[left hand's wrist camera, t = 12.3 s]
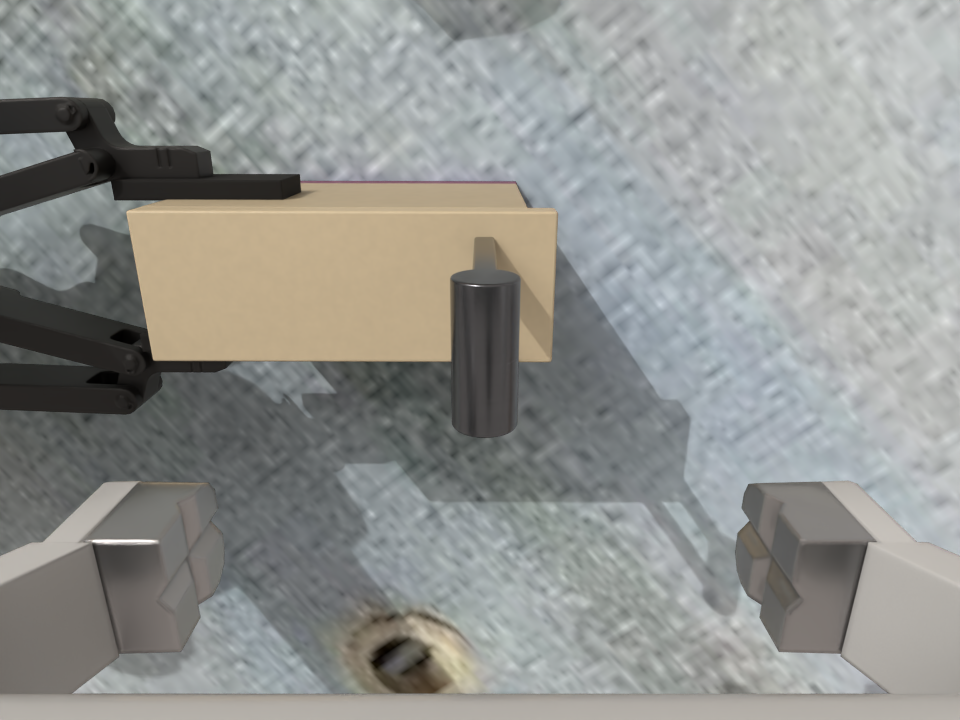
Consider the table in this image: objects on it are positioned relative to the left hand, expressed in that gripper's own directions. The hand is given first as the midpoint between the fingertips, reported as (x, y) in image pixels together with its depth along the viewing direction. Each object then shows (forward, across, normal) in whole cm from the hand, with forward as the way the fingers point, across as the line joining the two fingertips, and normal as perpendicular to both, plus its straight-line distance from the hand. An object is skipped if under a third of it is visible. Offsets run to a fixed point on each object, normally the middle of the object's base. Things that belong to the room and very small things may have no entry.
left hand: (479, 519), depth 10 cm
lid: (+15, -5, 0) cm, 16 cm away
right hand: (+19, -8, 0) cm, 20 cm away
